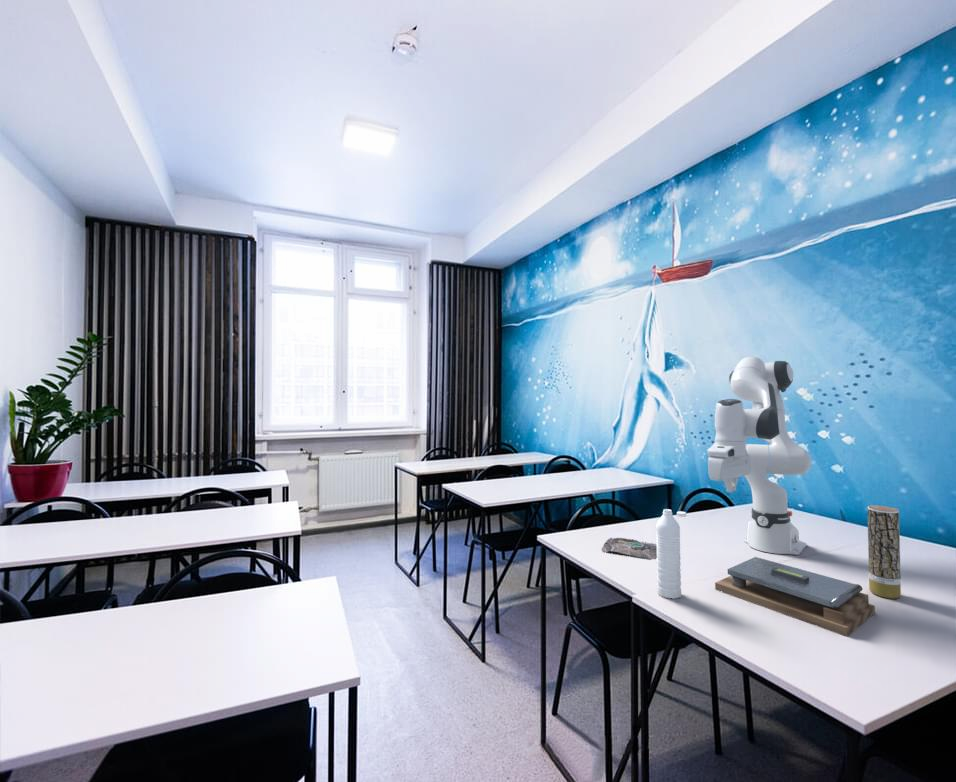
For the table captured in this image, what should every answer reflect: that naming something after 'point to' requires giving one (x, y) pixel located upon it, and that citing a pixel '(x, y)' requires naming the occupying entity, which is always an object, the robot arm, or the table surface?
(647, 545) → the terrain model
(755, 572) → the plate
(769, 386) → the robot arm
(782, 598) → the leveling base
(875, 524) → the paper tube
